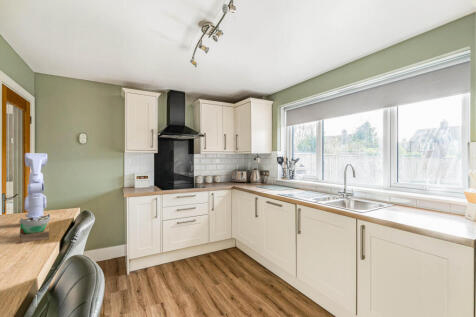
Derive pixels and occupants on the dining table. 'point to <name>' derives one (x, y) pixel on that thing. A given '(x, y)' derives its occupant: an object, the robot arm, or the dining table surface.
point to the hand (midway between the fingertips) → (35, 231)
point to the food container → (33, 225)
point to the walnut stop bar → (34, 236)
